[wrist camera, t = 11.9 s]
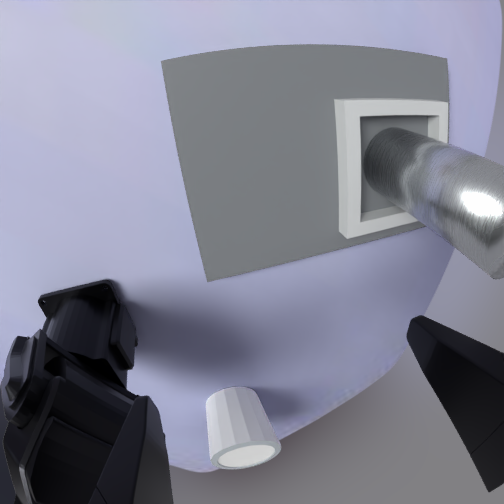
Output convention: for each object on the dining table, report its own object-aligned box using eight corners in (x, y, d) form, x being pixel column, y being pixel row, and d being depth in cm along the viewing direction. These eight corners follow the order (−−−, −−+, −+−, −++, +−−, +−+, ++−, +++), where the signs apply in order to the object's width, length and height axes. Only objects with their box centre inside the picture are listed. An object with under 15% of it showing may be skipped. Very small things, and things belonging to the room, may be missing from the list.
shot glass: (200, 385, 28) (211, 447, 22) (268, 379, 30) (288, 436, 24) (199, 420, 31) (209, 473, 25) (258, 414, 33) (274, 464, 27)
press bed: (204, 270, 22) (209, 292, 20) (162, 63, 15) (160, 58, 12) (429, 215, 25) (449, 228, 22) (433, 57, 17) (458, 59, 15)
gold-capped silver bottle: (386, 208, 21) (524, 325, 10) (349, 160, 19) (522, 271, 7) (428, 164, 20) (575, 251, 9) (397, 112, 18) (578, 179, 6)
